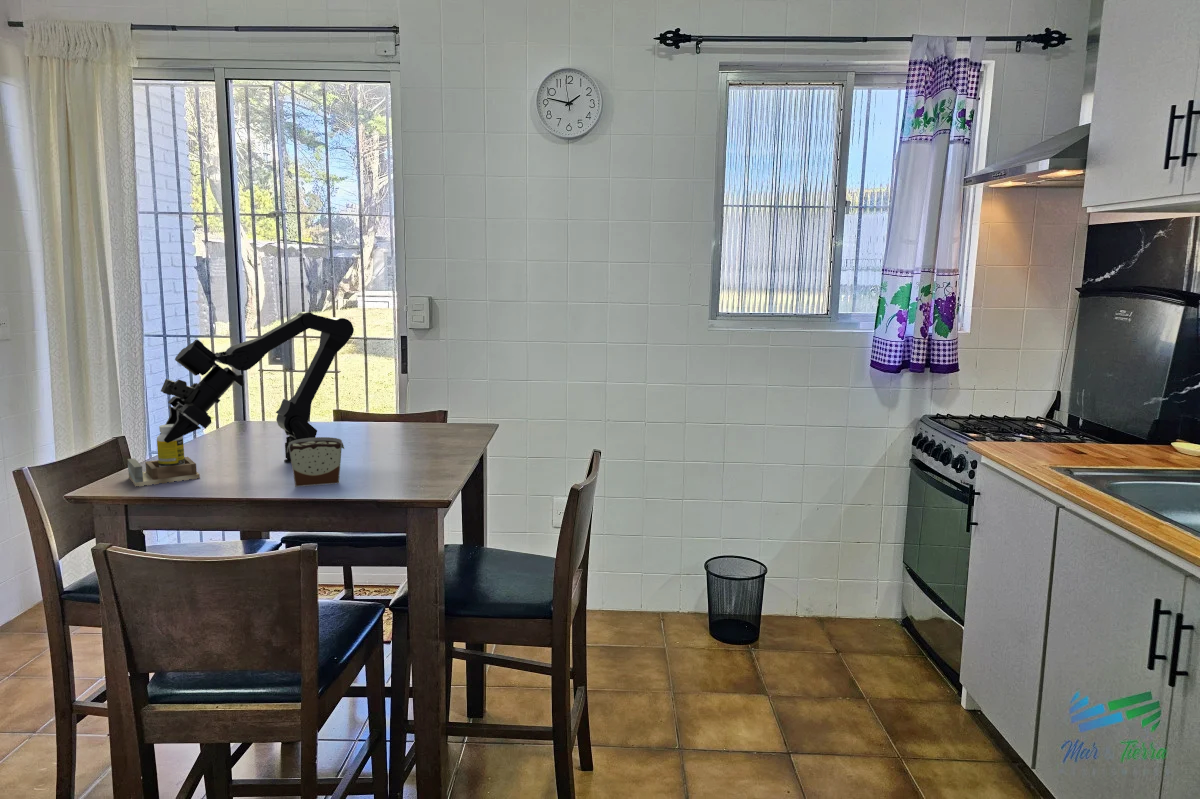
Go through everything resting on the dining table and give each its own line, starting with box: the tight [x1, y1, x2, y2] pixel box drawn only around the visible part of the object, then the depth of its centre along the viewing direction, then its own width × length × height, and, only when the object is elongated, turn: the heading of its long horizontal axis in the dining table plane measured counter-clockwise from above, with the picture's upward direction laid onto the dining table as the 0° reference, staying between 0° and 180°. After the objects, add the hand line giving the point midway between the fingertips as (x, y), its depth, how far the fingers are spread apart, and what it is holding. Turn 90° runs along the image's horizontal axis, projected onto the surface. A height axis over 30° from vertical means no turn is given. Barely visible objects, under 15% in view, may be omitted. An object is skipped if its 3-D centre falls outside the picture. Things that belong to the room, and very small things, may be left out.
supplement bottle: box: [156, 423, 185, 467], centre depth 183 cm, size 5×5×10 cm
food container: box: [287, 436, 345, 488], centre depth 180 cm, size 12×6×10 cm, turn 111°
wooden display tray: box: [127, 456, 201, 487], centre depth 182 cm, size 13×10×4 cm
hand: (163, 439), depth 181 cm, fingers closed on supplement bottle, 5 cm apart
